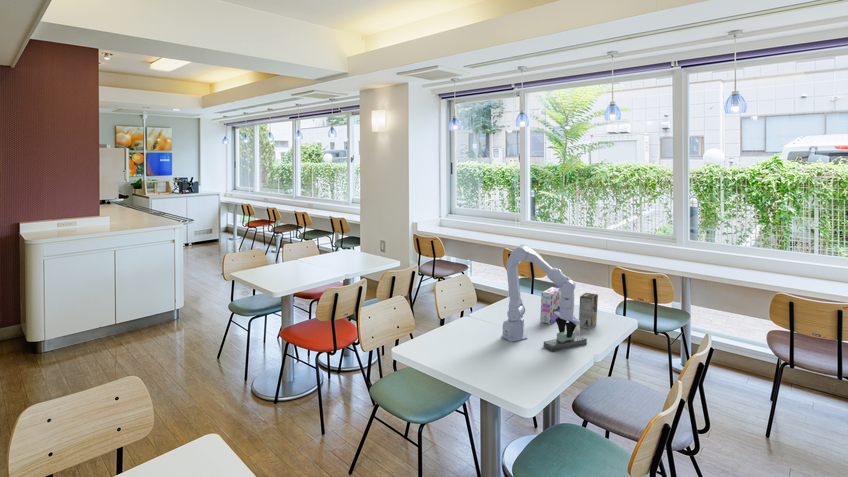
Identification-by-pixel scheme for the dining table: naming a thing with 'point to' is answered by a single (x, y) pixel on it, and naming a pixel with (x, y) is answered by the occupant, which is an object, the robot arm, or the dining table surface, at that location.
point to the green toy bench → (564, 337)
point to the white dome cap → (576, 330)
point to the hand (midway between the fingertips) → (565, 335)
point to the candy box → (550, 305)
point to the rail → (555, 345)
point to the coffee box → (588, 310)
